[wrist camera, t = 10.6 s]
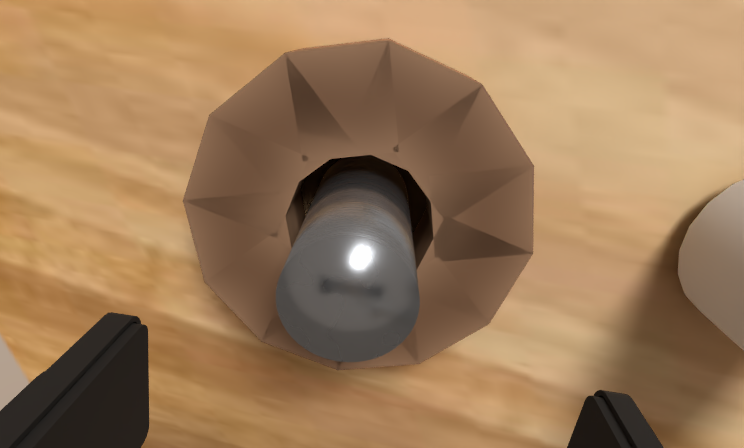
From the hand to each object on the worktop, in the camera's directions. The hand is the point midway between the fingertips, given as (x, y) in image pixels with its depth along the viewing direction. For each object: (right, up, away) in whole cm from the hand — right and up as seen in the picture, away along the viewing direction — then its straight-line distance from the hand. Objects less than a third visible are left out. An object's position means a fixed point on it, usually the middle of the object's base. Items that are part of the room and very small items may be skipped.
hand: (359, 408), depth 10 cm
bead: (0, +5, +12) cm, 13 cm away
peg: (0, +5, +12) cm, 13 cm away
